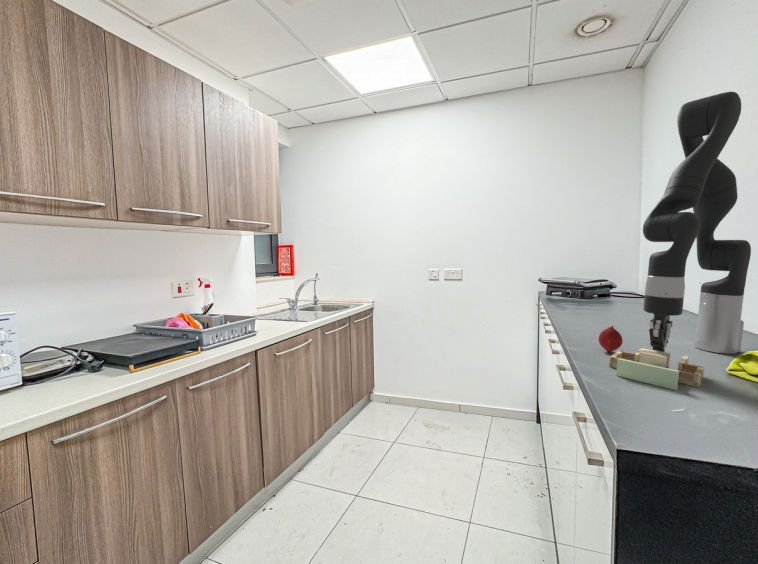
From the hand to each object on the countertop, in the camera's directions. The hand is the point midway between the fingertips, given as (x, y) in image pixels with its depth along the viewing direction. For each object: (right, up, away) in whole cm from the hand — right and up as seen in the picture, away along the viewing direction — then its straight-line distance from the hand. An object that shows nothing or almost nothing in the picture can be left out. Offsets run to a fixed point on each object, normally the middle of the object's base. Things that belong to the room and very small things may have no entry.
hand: (657, 361), depth 87 cm
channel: (-2, -2, -2) cm, 3 cm away
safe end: (-10, -2, -9) cm, 14 cm away
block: (-4, -2, -3) cm, 5 cm away
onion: (-3, 0, +13) cm, 14 cm away
